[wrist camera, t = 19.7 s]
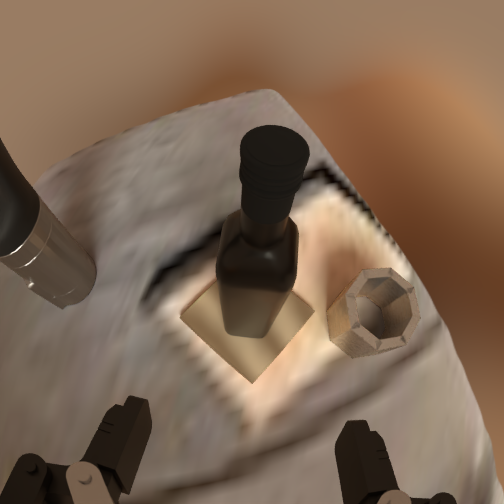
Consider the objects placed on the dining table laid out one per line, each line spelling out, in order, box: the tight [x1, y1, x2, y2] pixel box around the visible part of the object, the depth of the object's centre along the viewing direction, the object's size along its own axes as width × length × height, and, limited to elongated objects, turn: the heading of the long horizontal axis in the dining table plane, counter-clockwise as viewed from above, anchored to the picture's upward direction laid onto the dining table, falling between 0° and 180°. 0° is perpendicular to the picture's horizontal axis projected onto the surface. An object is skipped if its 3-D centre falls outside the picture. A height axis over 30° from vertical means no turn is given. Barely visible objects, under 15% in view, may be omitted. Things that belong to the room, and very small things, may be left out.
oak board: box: [180, 281, 315, 384], centre depth 40 cm, size 13×13×1 cm
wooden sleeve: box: [326, 268, 421, 359], centre depth 37 cm, size 10×10×8 cm
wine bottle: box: [216, 125, 310, 339], centre depth 26 cm, size 6×6×30 cm
